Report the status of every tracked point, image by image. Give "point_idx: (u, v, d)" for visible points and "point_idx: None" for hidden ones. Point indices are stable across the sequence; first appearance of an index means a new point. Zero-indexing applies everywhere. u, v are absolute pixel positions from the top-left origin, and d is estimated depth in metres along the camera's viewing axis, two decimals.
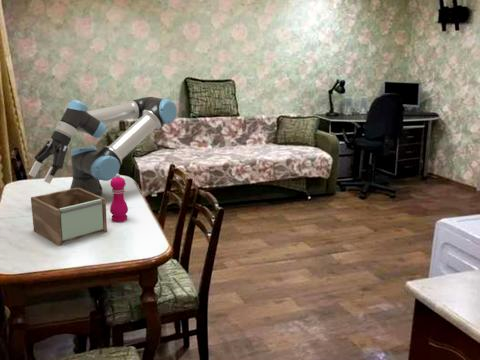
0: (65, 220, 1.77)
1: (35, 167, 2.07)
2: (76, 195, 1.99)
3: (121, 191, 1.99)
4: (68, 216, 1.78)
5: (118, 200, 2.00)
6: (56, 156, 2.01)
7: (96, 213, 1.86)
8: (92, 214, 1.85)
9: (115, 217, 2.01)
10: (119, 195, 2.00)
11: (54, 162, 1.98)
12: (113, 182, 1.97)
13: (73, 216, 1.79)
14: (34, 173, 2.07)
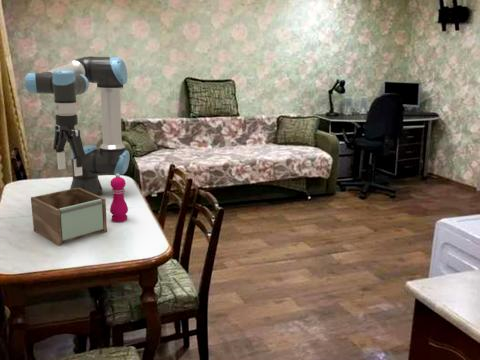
0: (65, 220, 1.77)
1: (60, 159, 1.84)
2: (76, 195, 1.99)
3: (121, 191, 1.99)
4: (68, 216, 1.78)
5: (118, 200, 2.00)
6: (73, 144, 1.75)
7: (96, 213, 1.86)
8: (92, 214, 1.85)
9: (115, 217, 2.01)
10: (119, 195, 2.00)
11: (74, 153, 1.75)
12: (113, 182, 1.97)
13: (73, 216, 1.79)
14: (63, 165, 1.86)
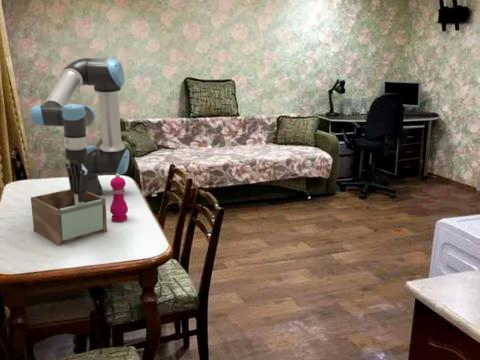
0: (65, 220, 1.77)
1: None
2: None
3: (121, 191, 1.99)
4: (69, 216, 1.78)
5: (118, 200, 2.00)
6: (78, 180, 1.77)
7: (96, 213, 1.86)
8: (92, 214, 1.85)
9: (115, 217, 2.01)
10: (119, 195, 2.00)
11: (77, 189, 1.78)
12: (113, 182, 1.97)
13: (73, 216, 1.79)
14: None
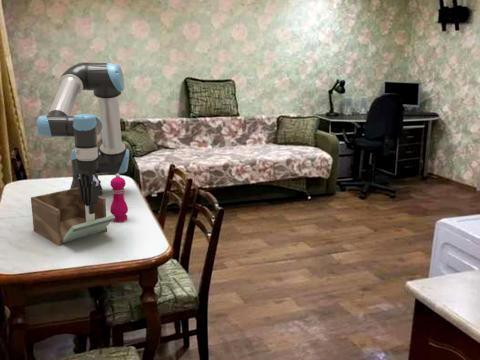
0: (73, 233, 1.75)
1: None
2: (76, 195, 1.99)
3: (121, 191, 1.99)
4: (78, 230, 1.75)
5: (118, 200, 2.00)
6: (89, 191, 1.73)
7: (103, 224, 1.84)
8: (99, 226, 1.83)
9: (115, 217, 2.01)
10: (119, 195, 2.00)
11: (88, 200, 1.74)
12: (113, 182, 1.97)
13: (82, 230, 1.76)
14: None
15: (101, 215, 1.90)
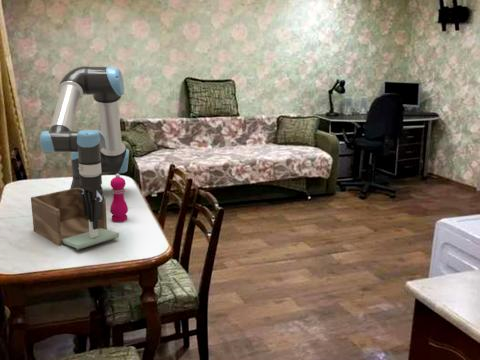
0: None
1: None
2: (76, 195, 1.99)
3: (121, 191, 1.99)
4: None
5: (118, 200, 2.00)
6: (93, 207, 1.74)
7: None
8: None
9: (115, 217, 2.01)
10: (119, 195, 2.00)
11: (92, 216, 1.74)
12: (113, 182, 1.97)
13: None
14: None
15: None
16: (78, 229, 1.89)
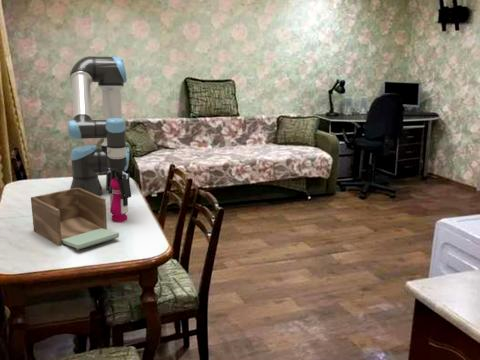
0: None
1: (112, 200, 2.04)
2: (76, 195, 1.99)
3: None
4: None
5: (118, 200, 2.00)
6: (121, 185, 1.97)
7: None
8: None
9: (115, 217, 2.01)
10: (119, 195, 2.00)
11: (122, 193, 1.97)
12: (113, 182, 1.97)
13: None
14: None
15: (101, 215, 1.90)
16: (78, 229, 1.89)
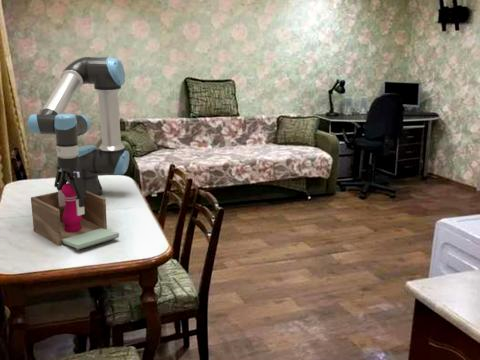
0: None
1: (61, 197, 1.90)
2: None
3: (73, 198, 1.84)
4: None
5: (70, 207, 1.85)
6: (75, 185, 1.80)
7: None
8: None
9: (67, 226, 1.86)
10: (71, 202, 1.84)
11: (76, 193, 1.79)
12: (64, 189, 1.82)
13: None
14: (64, 202, 1.91)
15: (101, 215, 1.90)
16: None
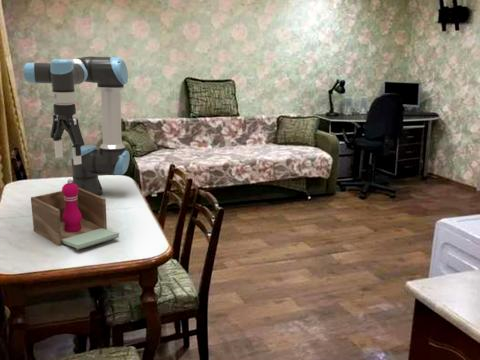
0: None
1: (57, 148, 1.84)
2: None
3: (73, 198, 1.84)
4: None
5: (70, 207, 1.85)
6: (71, 133, 1.75)
7: None
8: None
9: (67, 226, 1.86)
10: (71, 202, 1.84)
11: (73, 141, 1.74)
12: (64, 188, 1.82)
13: None
14: (60, 153, 1.86)
15: (101, 215, 1.90)
16: None
